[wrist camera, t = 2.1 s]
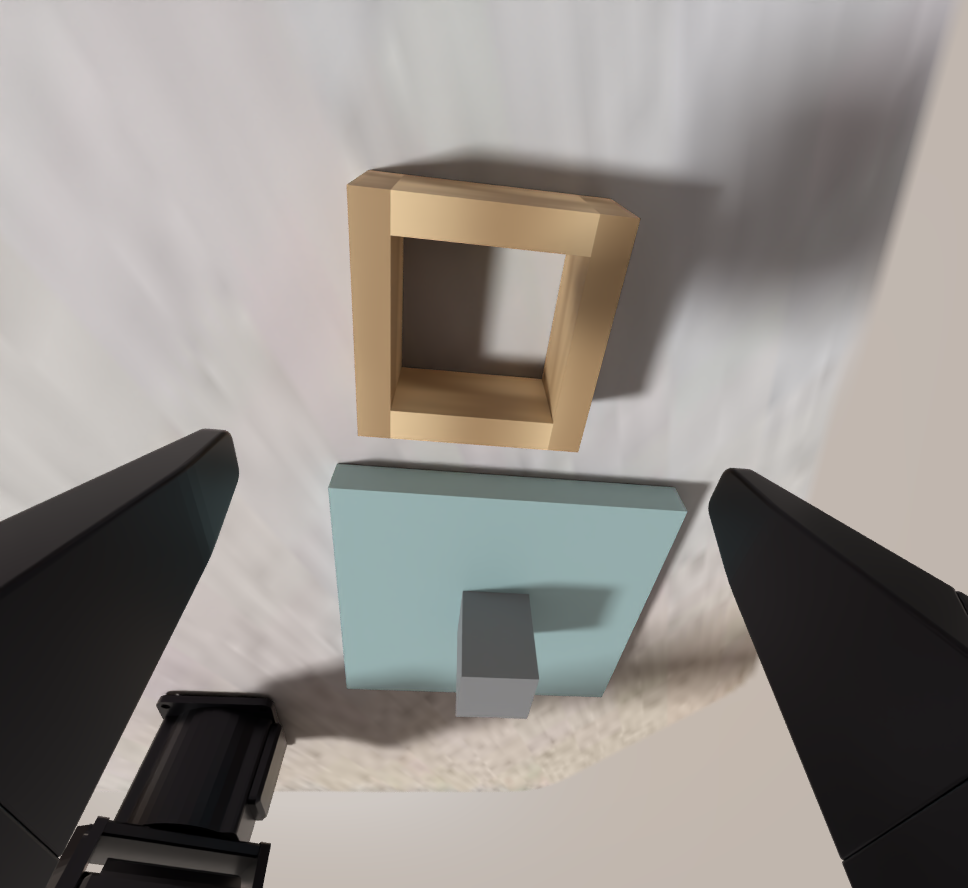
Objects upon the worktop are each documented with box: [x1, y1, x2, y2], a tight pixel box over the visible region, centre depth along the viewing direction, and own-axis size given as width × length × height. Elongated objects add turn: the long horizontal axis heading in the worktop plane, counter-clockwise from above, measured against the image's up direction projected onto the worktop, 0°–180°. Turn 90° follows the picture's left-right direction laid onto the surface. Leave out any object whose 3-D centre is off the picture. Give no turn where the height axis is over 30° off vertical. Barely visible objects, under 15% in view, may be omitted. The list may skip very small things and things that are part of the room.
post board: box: [328, 464, 687, 719], centre depth 22 cm, size 14×14×6 cm
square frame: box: [347, 170, 640, 452], centre depth 15 cm, size 7×7×3 cm
